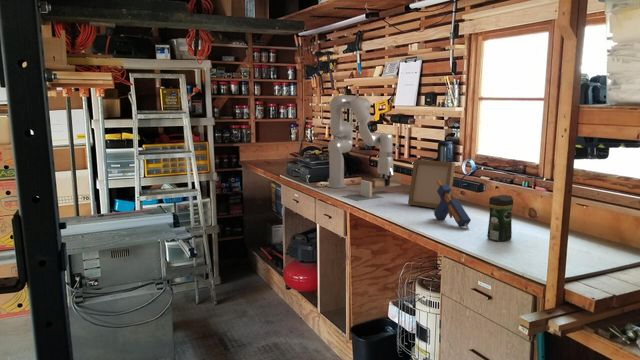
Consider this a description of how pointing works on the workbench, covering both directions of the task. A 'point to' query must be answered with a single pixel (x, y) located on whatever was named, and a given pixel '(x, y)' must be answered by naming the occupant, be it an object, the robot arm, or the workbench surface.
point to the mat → (360, 197)
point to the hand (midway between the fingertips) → (385, 184)
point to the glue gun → (450, 207)
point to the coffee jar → (500, 218)
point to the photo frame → (429, 182)
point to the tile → (366, 188)
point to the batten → (381, 182)
